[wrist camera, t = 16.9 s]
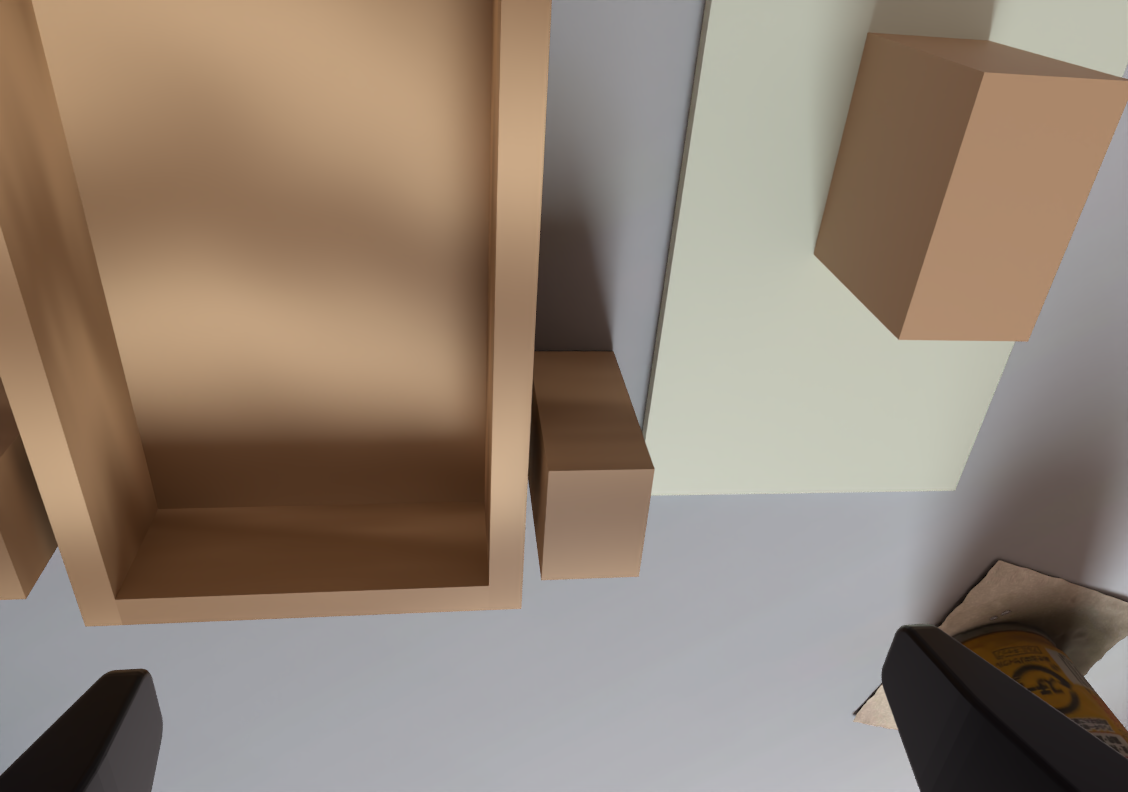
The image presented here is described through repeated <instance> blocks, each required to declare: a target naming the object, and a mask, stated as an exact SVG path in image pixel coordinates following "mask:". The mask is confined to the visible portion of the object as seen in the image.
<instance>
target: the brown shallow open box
mask: <svg viewBox="0 0 1128 792" xmlns="http://www.w3.org/2000/svg"><path fill="white" fill-rule="evenodd" d="M551 4H552V0H0V600H10V599H26V598H27V596H28V595H29V593H30V591H31V590H32V588H33V586H34V585H35V583H36V581H37V580H38V578H39V576H40V575H41V573H42V571H43V570H44V568H45V567H46V565H47V563H48V562H49V560H50V558H51V557H52V555H53V553H54V552H55V550H56V548H57V547H59V550H60V553H61V556H62V559H63V562H64V565H65V568H66V571H67V573H68V576H69V579H70V582H71V585H72V588H73V591H74V594H75V597H76V600H77V603H78V606H79V609H80V612H81V615H82V618H83V620H84V623H85V626H109V625H134V624H158V623H182V622H207V621H231V620H256V619H280V618H304V617H329V616H353V615H378V614H402V613H426V612H451V611H475V610H499V609H521V602H522V582H523V562H524V542H525V522H526V502H527V483H528V480H529V488H530V495H531V503H532V511H533V519H534V526H535V534H536V542H537V549H538V557H539V565H540V573H541V580H558V579H585V578H613V577H639V571H640V564H641V558H642V551H643V544H644V538H645V531H646V524H647V518H648V511H649V504H650V498H651V491H652V484H653V478H654V471H655V468H654V466H653V463H652V460H651V457H650V454H649V451H648V448H647V446H646V443H645V440H644V437H643V434H642V431H641V428H640V426H639V423H638V420H637V417H636V414H635V411H634V409H633V406H632V403H631V400H630V397H629V394H628V391H627V389H626V386H625V383H624V380H623V377H622V374H621V371H620V369H619V366H618V363H617V360H616V357H615V354H614V352H613V351H534V343H535V323H536V303H537V283H538V263H539V243H540V223H541V203H542V183H543V163H544V143H545V123H546V103H547V84H548V64H549V44H550V24H551Z"/></svg>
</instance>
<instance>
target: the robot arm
mask: <svg viewBox="0 0 1128 792" xmlns="http://www.w3.org/2000/svg"><path fill="white" fill-rule="evenodd" d="M882 685H883V689H884V692H885V695H886V698H887V700H888V703H889V706H890V709H891V711H892V714H893V717H894V720H895V723H896V725H897V728H898V731H899V734H900V737H901V739H902V742H903V745H904V748H905V751H906V753H907V756H908V759H909V762H910V765H911V767H912V770H913V773H914V776H915V779H916V781H917V784H918V787H919V789H920V792H1128V759H1127V758H1126V757H1125V756H1123V755H1122V754H1120V753H1119V752H1117V751H1116V750H1114V749H1113V748H1112V747H1110V746H1109V745H1107V744H1106V743H1104V742H1103V741H1101V740H1100V739H1099V738H1097V737H1096V736H1094V735H1093V734H1091V733H1090V732H1088V731H1087V730H1086V729H1084V728H1083V727H1081V726H1080V725H1078V724H1077V723H1075V722H1074V721H1073V720H1071V719H1070V718H1068V717H1067V716H1065V715H1064V714H1062V713H1061V712H1060V711H1058V710H1057V709H1055V708H1054V707H1052V706H1051V705H1049V704H1048V703H1046V702H1045V701H1044V700H1042V699H1041V698H1039V697H1038V696H1036V695H1035V694H1033V693H1032V692H1031V691H1029V690H1028V689H1026V688H1025V687H1023V686H1022V685H1020V684H1019V683H1018V682H1016V681H1015V680H1013V679H1012V678H1010V677H1009V676H1007V675H1006V674H1005V673H1003V672H1002V671H1000V670H999V669H997V668H996V667H994V666H993V665H992V664H990V663H989V662H987V661H986V660H984V659H983V658H981V657H980V656H979V655H977V654H976V653H974V652H973V651H971V650H970V649H968V648H967V647H966V646H964V645H963V644H961V643H960V642H958V641H957V640H955V639H954V638H952V637H951V636H950V635H948V634H947V633H945V632H944V631H942V630H941V629H939V628H938V627H936V626H934V625H931V624H914V625H904V626H901V627H900V628H899V629H898V630H897V632H896V633H895V636H894V639H893V641H892V644H891V647H890V649H889V652H888V654H887V657H886V660H885V662H884V665H883V668H882ZM162 731H163V722H162V715H161V711H160V707H159V703H158V699H157V695H156V691H155V687H154V684H153V680H152V677H151V674H150V673H149V672H148V671H147V670H145V669H129V670H114V671H110V672H108V673H106V674H104V675H103V676H102V677H101V678H99V679H98V680H97V681H96V682H95V683H94V684H93V685H92V686H91V687H90V688H89V689H88V690H87V691H86V692H85V693H84V694H83V695H82V696H81V697H80V698H79V699H78V700H77V701H76V702H75V703H74V704H73V705H72V706H71V707H70V708H69V709H68V710H67V711H66V712H65V713H64V714H63V715H62V716H61V717H60V718H59V719H58V720H57V721H56V722H55V723H54V724H53V725H52V726H51V727H50V728H48V729H47V730H46V731H45V732H44V733H43V734H42V735H41V736H40V737H39V738H38V739H37V740H36V741H35V742H34V743H33V744H32V745H31V746H30V747H29V748H28V749H27V750H26V751H25V752H24V753H23V754H22V755H21V756H20V757H19V758H18V759H17V760H16V761H15V762H14V763H13V764H12V765H11V766H10V767H9V768H8V769H7V770H6V771H5V772H4V773H3V774H2V775H1V776H0V792H151V790H152V785H153V780H154V775H155V770H156V765H157V760H158V755H159V750H160V745H161V739H162Z"/></svg>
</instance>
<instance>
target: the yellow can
mask: <svg viewBox="0 0 1128 792" xmlns="http://www.w3.org/2000/svg"><path fill="white" fill-rule="evenodd" d="M1005 611H1011V612H1010V613H1008V614H1005V615H1001V613H1003V612H1005ZM994 616H997V619H994V620H990V618H991V617H994ZM938 628H939V629H941V630H942V631H944V632H945V633H947V634H948V635H950V636H951V637H952V638H954V639H955V640H957V641H958V642H960V643H961V644H963V645H964V646H966V647H967V648H968V649H970V650H971V651H973V652H974V653H976V654H977V655H979V656H980V657H981V658H983V659H984V660H986V661H987V662H989V663H990V664H992V665H993V666H994V667H996V668H997V669H999V670H1000V671H1002V672H1003V673H1005V674H1006V675H1007V676H1009V677H1010V678H1012V679H1013V680H1015V681H1016V682H1018V683H1019V684H1020V685H1022V686H1023V687H1025V688H1026V689H1028V690H1029V691H1031V692H1032V693H1033V694H1035V695H1036V696H1038V697H1039V698H1041V699H1042V700H1044V701H1045V702H1046V703H1048V704H1049V705H1051V706H1052V707H1054V708H1055V709H1057V710H1058V711H1060V712H1061V713H1062V714H1064V715H1065V716H1067V717H1068V718H1070V719H1071V720H1073V721H1074V722H1075V723H1077V724H1078V725H1080V726H1081V727H1083V728H1084V729H1086V730H1087V731H1088V732H1090V733H1091V734H1093V735H1094V736H1096V737H1097V738H1099V739H1100V740H1101V741H1103V742H1104V743H1106V744H1107V745H1109V746H1110V747H1112V748H1113V749H1114V750H1116V751H1117V752H1119V753H1120V754H1122V755H1123V756H1125V757H1126V758H1127V759H1128V731H1127V730H1126V729H1125V727H1124V726H1123V725H1122V724H1121V723H1120V721H1119V720H1118V719H1117V718H1116V716H1115V715H1114V714H1113V713H1112V711H1111V710H1110V709H1109V708H1108V707H1107V705H1106V704H1105V703H1104V701H1103V700H1102V699H1101V698H1100V697H1099V695H1098V694H1097V693H1096V692H1095V690H1094V689H1093V688H1092V687H1091V685H1090V684H1089V683H1088V682H1087V680H1086V679H1085V678H1084V675H1086V674H1087V672H1088V671H1089V669H1090V668H1091V667H1092V666H1093V665H1094V664H1095V663H1096V662H1097V661H1099V660H1100V659H1102V657H1103V656H1104V654H1105V653H1106V652H1107V651H1108V650H1109V649H1111V648H1112V647H1113V646H1114V645H1115V644H1116V643H1117V642H1119V641H1120V640H1122V639H1124V638H1125V637H1126V636H1128V602H1125V601H1122V600H1119V599H1117V598H1114V597H1111V596H1107V595H1104V594H1102V593H1100V592H1098V591H1094V590H1091V589H1088V588H1085V587H1082V586H1079V585H1076V584H1073V583H1070V582H1067V581H1066V580H1064V579H1061V578H1054V577H1050V576H1047V575H1044V574H1041V573H1038V572H1036V571H1033V570H1031V569H1028V568H1022V567H1019V566H1016V565H1012V564H1009V563H1006V562H1003V561H1001V560H999V561H998V562H997V563H996V564H995V565H994V566H993V567H992V568H991V569H990V570H989V572H988V574H987V575H986V577H985V578H984V579H983V580H982V581H981V582H980V583H979V584H977V585H976V586H975V587H974V588H973V589H972V590H971V591H970V592H969V593H968V594H967V596H966V598H965V600H964V601H963V602H962V603H961V604H960V605H959V606H958V607H956V608H955V609H954V610H953V611H952V613H951V614H950V615H948V616H947V618H946V619H945V621H944V622H943V623H942V625H941V626H939V627H938ZM853 722H860V723H863V724H868V725H873V726H881V727H884V728H887V729H891V728H892V729H896V730H898V728H897V725H896V723H895V720H894V717H893V714H892V711H891V709H890V706H889V703H888V700H887V698H886V695H885V692H884V689H883V685H881V686H880V688H879V689H878V690H877V692H876V693H875V695H874V696H873V697H872V698H870V699H869V700H868V701H867V702H866V703H865V704H864V705H863V707H862V708H861V709H860V711H859V712H858V713H857V715H856V717H855V719H854V721H853Z"/></svg>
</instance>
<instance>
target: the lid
mask: <svg viewBox="0 0 1128 792" xmlns="http://www.w3.org/2000/svg"><path fill="white" fill-rule="evenodd" d="M1127 64H1128V0H706V2H705V9H704V16H703V23H702V30H701V36H700V43H699V50H698V57H697V64H696V70H695V77H694V84H693V91H692V98H691V104H690V111H689V118H688V125H687V131H686V138H685V145H684V152H683V159H682V165H681V172H680V179H679V186H678V193H677V199H676V206H675V213H674V220H673V227H672V233H671V240H670V247H669V254H668V261H667V267H666V274H665V281H664V288H663V294H662V301H661V308H660V315H659V322H658V328H657V335H656V342H655V349H654V356H653V362H652V369H651V376H650V383H649V390H648V396H647V403H646V410H645V417H644V423H643V430H642V434H643V437H644V440H645V443H646V446H647V448H648V451H649V454H650V457H651V460H652V463H653V466H654V468H655V471H654V478H653V484H652V491H651V496H652V495H715V494H777V493H839V492H901V491H955V489H956V486H957V484H958V482H959V479H960V477H961V474H962V472H963V469H964V467H965V464H966V462H967V459H968V457H969V454H970V452H971V449H972V447H973V444H974V442H975V440H976V437H977V435H978V432H979V430H980V427H981V425H982V422H983V420H984V417H985V415H986V412H987V410H988V407H989V405H990V402H991V400H992V398H993V395H994V393H995V390H996V388H997V385H998V383H999V380H1000V378H1001V375H1002V373H1003V370H1004V368H1005V365H1006V363H1007V360H1008V358H1009V355H1010V353H1011V351H1012V348H1013V346H1014V343H1015V341H1028V340H1029V338H1030V335H1031V333H1032V330H1033V328H1034V326H1035V323H1036V321H1037V318H1038V316H1039V313H1040V311H1041V309H1042V306H1043V304H1044V301H1045V299H1046V297H1047V294H1048V292H1049V289H1050V287H1051V284H1052V282H1053V280H1054V277H1055V275H1056V272H1057V270H1058V268H1059V265H1060V263H1061V260H1062V258H1063V255H1064V253H1065V251H1066V248H1067V246H1068V243H1069V241H1070V239H1071V236H1072V234H1073V231H1074V229H1075V226H1076V224H1077V222H1078V219H1079V217H1080V214H1081V212H1082V210H1083V207H1084V205H1085V202H1086V200H1087V197H1088V195H1089V193H1090V190H1091V188H1092V185H1093V183H1094V181H1095V178H1096V176H1097V173H1098V171H1099V168H1100V166H1101V164H1102V161H1103V159H1104V156H1105V154H1106V152H1107V149H1108V147H1109V144H1110V142H1111V139H1112V137H1113V135H1114V132H1115V130H1116V127H1117V125H1118V123H1119V120H1120V118H1121V115H1122V113H1123V110H1124V108H1125V106H1126V103H1127V101H1128V79H1125V78H1122V76H1123V74H1124V71H1125V69H1126V66H1127Z"/></svg>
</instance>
